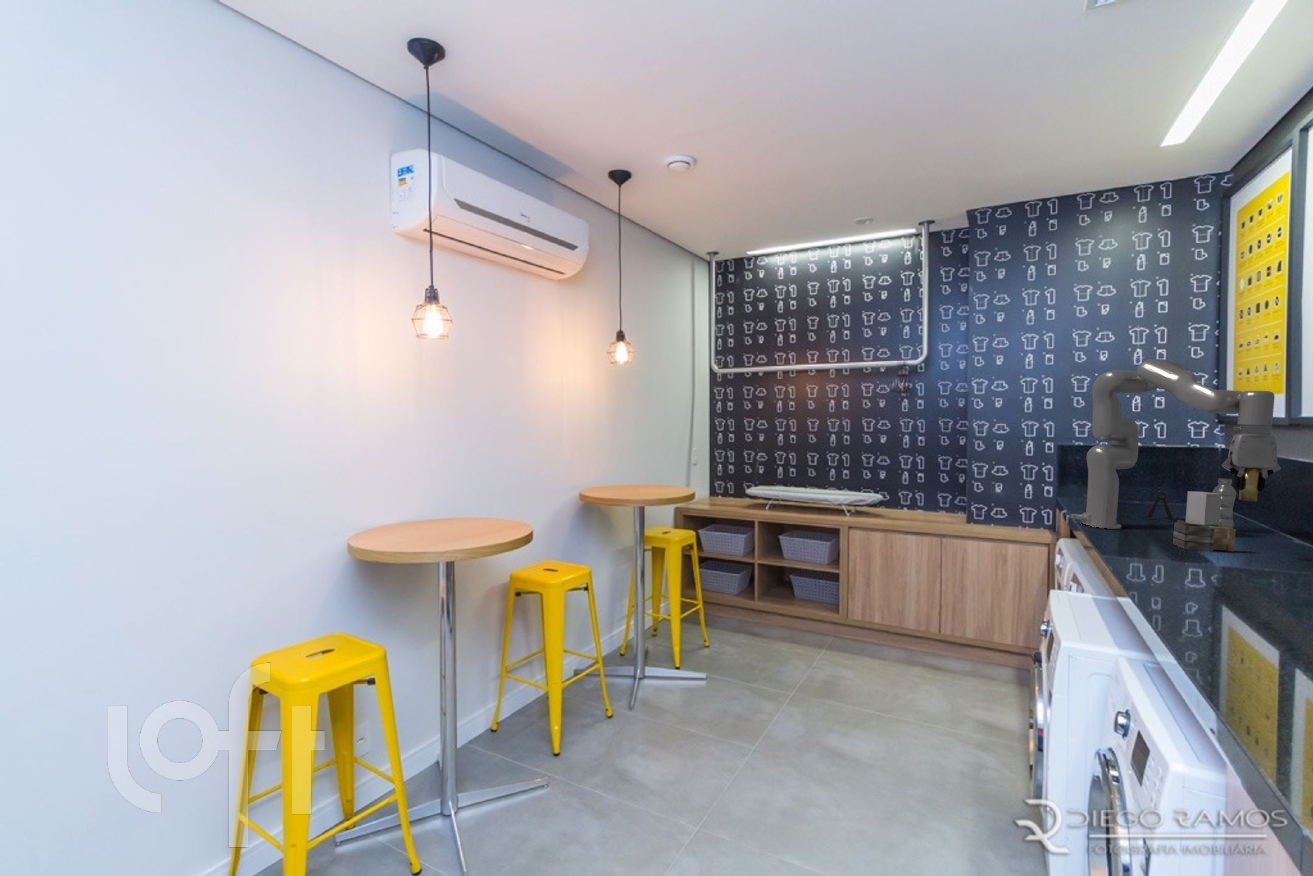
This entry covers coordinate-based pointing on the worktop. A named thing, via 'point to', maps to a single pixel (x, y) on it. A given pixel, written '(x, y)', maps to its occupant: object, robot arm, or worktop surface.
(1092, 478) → the robot arm
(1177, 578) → the worktop surface
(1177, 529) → the slatted wooden box
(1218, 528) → the wooden crate
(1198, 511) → the skincare box
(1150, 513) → the black a-shaped stand
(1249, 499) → the brass hinge pin
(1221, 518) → the plastic bottle
